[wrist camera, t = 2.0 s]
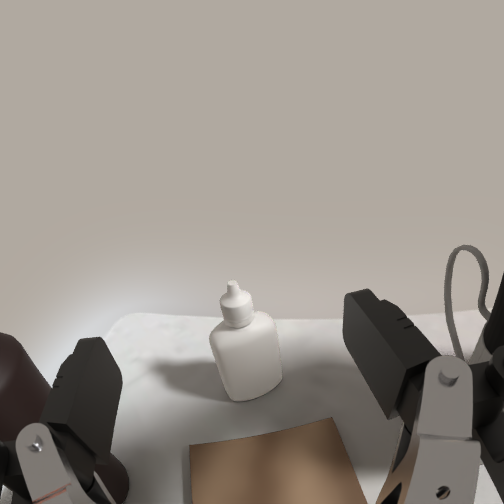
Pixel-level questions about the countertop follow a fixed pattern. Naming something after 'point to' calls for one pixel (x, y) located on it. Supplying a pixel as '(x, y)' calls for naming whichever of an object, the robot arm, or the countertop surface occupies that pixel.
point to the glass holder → (498, 321)
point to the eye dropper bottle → (245, 347)
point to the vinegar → (39, 408)
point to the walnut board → (276, 469)
